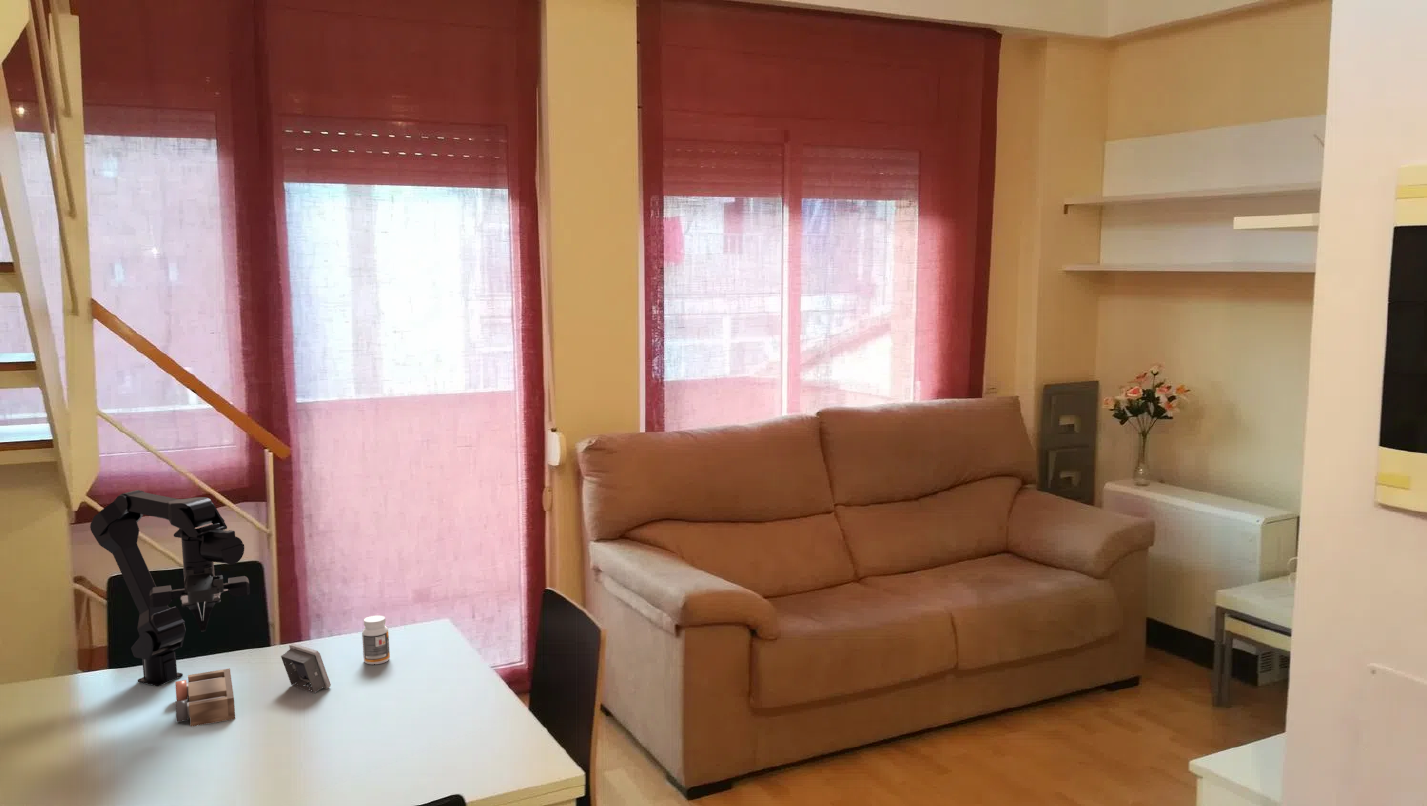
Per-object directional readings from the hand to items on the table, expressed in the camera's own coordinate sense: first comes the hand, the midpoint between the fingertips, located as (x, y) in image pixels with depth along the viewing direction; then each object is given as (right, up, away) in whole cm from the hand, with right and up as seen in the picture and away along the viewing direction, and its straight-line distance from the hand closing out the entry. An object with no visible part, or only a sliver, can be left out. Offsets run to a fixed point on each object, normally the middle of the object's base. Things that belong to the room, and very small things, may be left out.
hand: (203, 630), depth 224 cm
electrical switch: (+21, -13, +3) cm, 25 cm away
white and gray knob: (+6, -14, -13) cm, 20 cm away
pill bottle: (+31, -11, +18) cm, 37 cm away
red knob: (+1, -13, -3) cm, 13 cm away
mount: (+5, -14, -7) cm, 16 cm away
